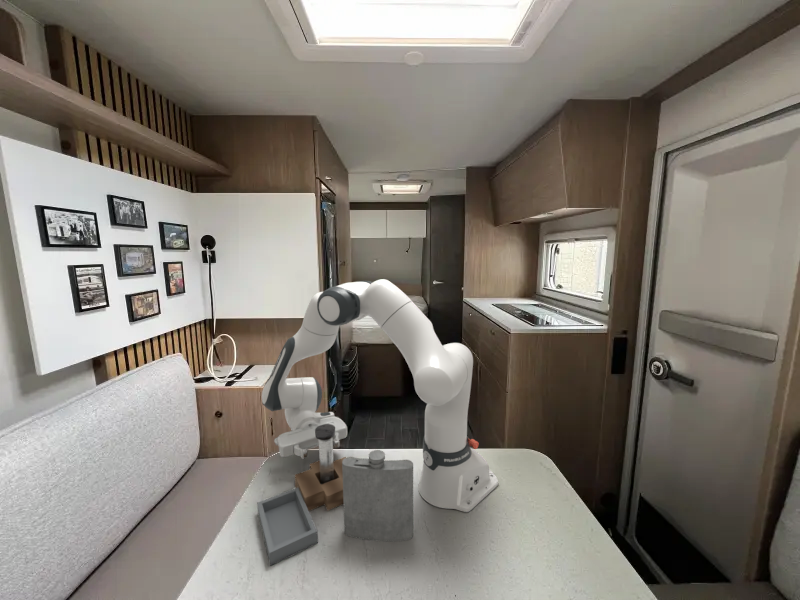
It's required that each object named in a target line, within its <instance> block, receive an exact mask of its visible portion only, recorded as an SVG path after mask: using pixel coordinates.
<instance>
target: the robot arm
mask: <svg viewBox="0 0 800 600" xmlns="http://www.w3.org/2000/svg"><path fill="white" fill-rule="evenodd" d="M367 316H368V317H369V318H371V319H372V320H374V322H375V323H376V324H377V325H378V327H380V329H381V330H382V331H383V332H384V333H385V335H387V337H388V339H390V341H391V342H392V343H393V344H394V345H395V346H396V347H397V349H398V350H399V352H400V353H401V355H402V357H403V358H404V359H405V362H406V363H407V365H408V368H409V371H410V372H411V374H412V378H413V386H414V390H415V393H416V394H417V395H418V397H419V398H420V400H421V401H423V402H424V403H425V404H426V406H425V410H424V436H423V439H422V458H423V463H422V469H421V474H420V479H419V480H418V484H417V485H418V487H417V489H418V492H419V494H420V495H419V496H421V498H423V499H424V500H425V501H426V502H427V503H428V504H430V505H432V506H434V507H436V508H440V509H447V510H448V509H454V510H458V511H460V512H464V513H468V512H471V510H473V509H474V508H475V507H476V506H477V505H478V504H479V503H480V502H482V501H483V499H485V498H486V497H487V496H488V495H489V494H490V493H491V492H492V491H494V489H496V488H497V487H498V486H499V479H498V477H497V476H496V474H494V472H493V471H492V470H491V469H490V466H489V463H488V461H487V460H486V458H484V456H483V455H482V454H481V453H479V452H478V451H477V449H478V447H479V445H480V444H479V443H480V442H478V441H477V440H475V439H474V438H471V439H470V438H469V436H467V435H468V413H469V406H470V405H469V404H470V398H471V396H470V395H471V391H472V390H471V389H472V378H473V369H474V367H473V366H474V356H473V352H472V351H471V350H470V349H469V348H468V347H467V346H466V345H464V344H462V343H460V342H450V343H447V344H442V342H441V341H440V339H439V337H438V335H437V334H436V332H435V329H434V326H433V323H432V321H431V319H429V318H428V317H427V316H426V315H425V314H424V312H423V311H422V310H421V309H420V308H419V307H418V306H417V305H416V303H414V302H413V301H412V299H411V298H410V297H409V296H408V295H407V294H406V293H405V292H403V290H401V288H399V287H398V286H397V285H395V283H393V282H391V281H389V280H388V279H385V278H383V279H377V280H375V281H371V280H357V281H353V282H351V281H350V282H345V283H344V282H343V283H341V284H339V285H335V286H331V287H329V288H327V289H325V290H324V291H319V292H316V293H315V294H314V295H313V296H312V297H311V299H310V300H309V302H308V305H307V308H306V310H305V313H304V316H303V320H302V323H301V326H300V328H299V329H298V331H297V332H296V333H295V334H294V335H293V336H291V337H289V338H288V339H286V341H285V343H284V345H283V346H282V348H281V350H280V353H279V355H278V357H277V359H276V362H275V364H274V366H273V369H272V371H271V373H270V375H269V377H268V379H267V381H266V382H265V383H264V386H263V388H262V392H261V403H262V405H263V406H264V407H265V408H266V409H267V410H268V411H271V412H275V411H281V410H284V417H285V420H286V423H287V425H288V427H289V428H290V430H289V431H286V432H283V433H281V434H279V435H278V436H277V437H275V438H274V440H273V442H274V443H275V446H278V454H279V456H280V457H281V458H287V457H290V456H293V455H296V456H297V457H300V458H301V460H303V459H305V458H308V450H311V449H315V448H317V447H318V448H319V439H317V438H316V437H315V429H316V428H317V427H318V426H320V425H323V424H331V425H334V426H335V435H334V437H332V440H333V448H338V447H339V448H340V446H341V445H340V444H341V443H340V440H342V439H345V438H346V437H348V426H347V424H346V422H344V420H342V419H341V418H340V417H339V416H335V413H334V412H333V411H328V412H317V411H318V410H319V407H320V406H321V403H322V400H323V399H322V398H323V390H322V386H321V383H319V381H318V379H317V378H315V377H313V376H311V377H310V376H308V377H307V376H306V377H305V376H304V377H291V378H290V377H288V376H289V374H290V372H291V369H292V367H293V366H294V365H295V364H296V363H297V362H299V361H302V360H304V359H306V358H310V357H313V356H317V355H321V354H323V353H325V352H327V351H328V350H329V349H331V347H332V346H333V345H334V344H335V341H336V339H337V337H338V336H337V335H338V332H339V329H340V326H344V325H347V324H349V323H352V322H356V321H360V320H361V319H364V318H366V317H367Z"/></svg>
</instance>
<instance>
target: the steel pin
mask: <svg viewBox="0 0 800 600" xmlns="http://www.w3.org/2000/svg"><path fill="white" fill-rule="evenodd" d="M334 435H335V426H334V425H331V424H323V425H320V426H318V427H317V428H316V429H315V437H316V438H317V439H319V446H318V454H319V455H318V459H319V460H320V482H321V485H322V484H324V483H327V482H329V481H332V480H334V466H333V461H334V446H333V440H332V437H334ZM319 460H318V461H319Z"/></svg>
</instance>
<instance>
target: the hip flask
mask: <svg viewBox="0 0 800 600" xmlns="http://www.w3.org/2000/svg"><path fill="white" fill-rule="evenodd" d="M385 459H386V454H385V452H384V451H383V450H380V449H375V450H372V451H370V452H369V453H368V458H359V457H353V456H348V457H346V458H345V459H343V461H342V473H343V502H344V504H343V524H344V525H343V526H344V529H343V530H344V534H345V536H347V537H349V538H350V537H352V538H356V539H360V540H367V541H377V542H400V541H401V542H402V541H409V540H411V539H412V538H413V536H414V462H413V461H412V460H410V459H396V460H395V459H394V460H385Z"/></svg>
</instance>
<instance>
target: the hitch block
mask: <svg viewBox="0 0 800 600" xmlns="http://www.w3.org/2000/svg"><path fill="white" fill-rule="evenodd" d="M345 458H347V457H346V456H344V457H343V456H342V457H341V458H339V459H336V460H335V459H334V460H333V466H334V480H332V481H329V482H327V483H324V484H322V485H321V482H320V460H316V461H314V462H311V463H309V469H306V470H304V471H302V472H299V473H296V474H294V485H295V487H294V489H295V488H297V487H298V488H299V490H300V492H301V495H302V497H303V499H304V501H305V504H306V506H307V508H308V511H309V512H311V511H313V510H315V509H317V508H320V507H322V506H324V507H325V508H326V511H327V512H329V511H331V510H333V509H335V508H337V507H341V506H342V505H344V502H343V473H342V461H343V459H345Z"/></svg>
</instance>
